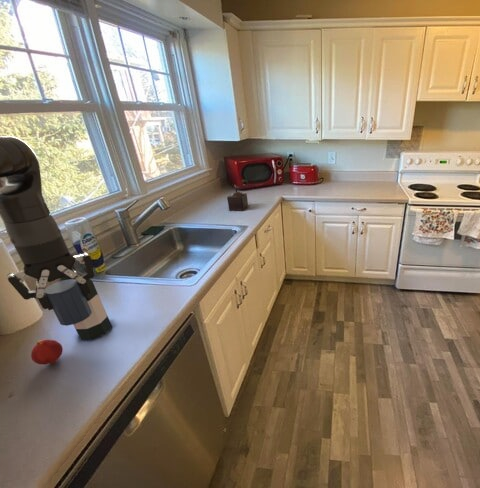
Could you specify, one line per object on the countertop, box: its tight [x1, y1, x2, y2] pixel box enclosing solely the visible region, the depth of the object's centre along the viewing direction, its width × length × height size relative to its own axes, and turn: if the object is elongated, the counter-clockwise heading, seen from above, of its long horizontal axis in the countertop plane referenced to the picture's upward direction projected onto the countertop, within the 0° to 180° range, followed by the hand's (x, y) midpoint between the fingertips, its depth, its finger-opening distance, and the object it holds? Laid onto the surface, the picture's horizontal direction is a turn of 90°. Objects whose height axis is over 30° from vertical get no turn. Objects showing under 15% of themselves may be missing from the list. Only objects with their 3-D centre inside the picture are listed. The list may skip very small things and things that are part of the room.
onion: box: [30, 339, 64, 365], centre depth 73 cm, size 6×6×8 cm
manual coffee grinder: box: [226, 179, 249, 212], centre depth 190 cm, size 16×11×18 cm
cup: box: [44, 279, 92, 327], centre depth 66 cm, size 6×6×9 cm
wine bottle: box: [57, 264, 113, 341], centre depth 79 cm, size 8×8×30 cm
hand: (68, 301), depth 66 cm, fingers closed on cup, 6 cm apart
